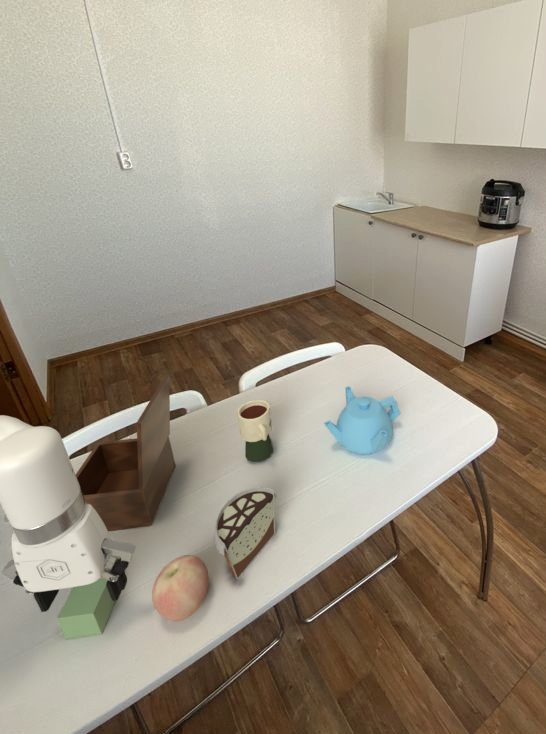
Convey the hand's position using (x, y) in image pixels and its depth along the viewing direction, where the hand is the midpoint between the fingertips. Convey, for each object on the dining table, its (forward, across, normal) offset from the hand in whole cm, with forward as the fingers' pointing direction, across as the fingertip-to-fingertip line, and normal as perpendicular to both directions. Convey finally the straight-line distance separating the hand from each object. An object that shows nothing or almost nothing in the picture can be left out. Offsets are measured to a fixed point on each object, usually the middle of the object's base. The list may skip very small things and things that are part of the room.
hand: (85, 595), depth 58 cm
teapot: (+6, +46, +32) cm, 57 cm away
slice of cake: (+6, +22, +8) cm, 24 cm away
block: (+5, 0, 0) cm, 5 cm away
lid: (-11, +4, +22) cm, 25 cm away
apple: (+6, +14, 0) cm, 15 cm away
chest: (+5, -4, +22) cm, 23 cm away
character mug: (+6, +22, +30) cm, 37 cm away
